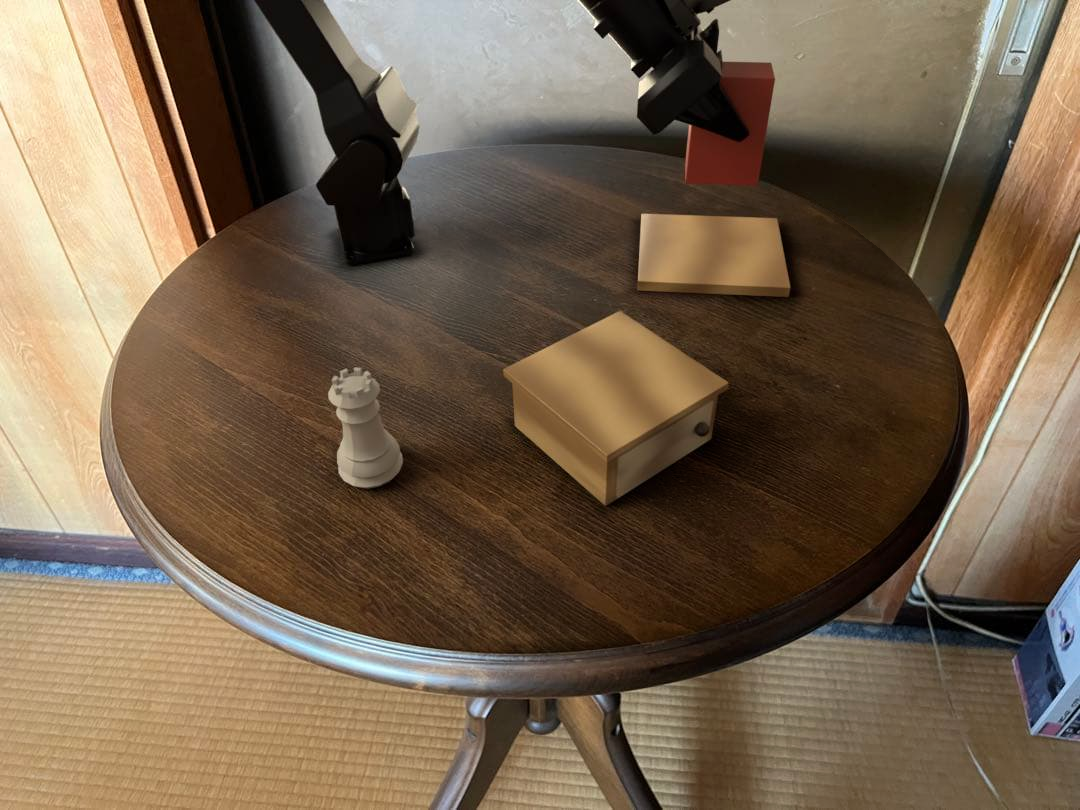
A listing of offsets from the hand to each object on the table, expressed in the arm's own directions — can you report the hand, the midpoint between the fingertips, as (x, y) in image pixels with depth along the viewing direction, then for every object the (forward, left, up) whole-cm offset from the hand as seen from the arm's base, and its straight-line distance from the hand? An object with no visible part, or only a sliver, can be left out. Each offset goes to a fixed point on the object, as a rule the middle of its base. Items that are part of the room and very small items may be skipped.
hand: (743, 128), depth 68 cm
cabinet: (-18, -18, -12) cm, 29 cm away
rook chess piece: (-35, -16, -13) cm, 41 cm away
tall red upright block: (-1, +1, -4) cm, 5 cm away
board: (-1, +1, -12) cm, 13 cm away
